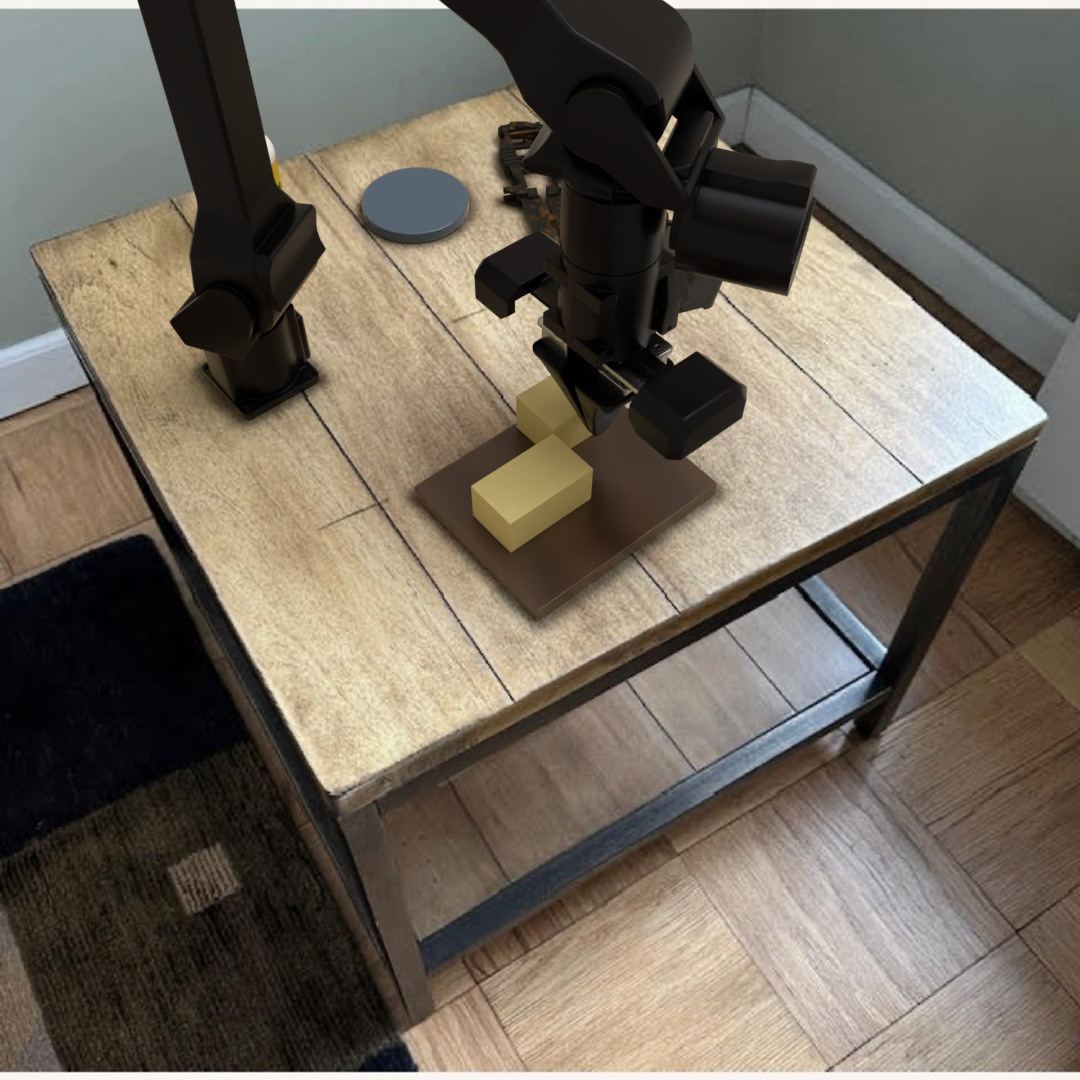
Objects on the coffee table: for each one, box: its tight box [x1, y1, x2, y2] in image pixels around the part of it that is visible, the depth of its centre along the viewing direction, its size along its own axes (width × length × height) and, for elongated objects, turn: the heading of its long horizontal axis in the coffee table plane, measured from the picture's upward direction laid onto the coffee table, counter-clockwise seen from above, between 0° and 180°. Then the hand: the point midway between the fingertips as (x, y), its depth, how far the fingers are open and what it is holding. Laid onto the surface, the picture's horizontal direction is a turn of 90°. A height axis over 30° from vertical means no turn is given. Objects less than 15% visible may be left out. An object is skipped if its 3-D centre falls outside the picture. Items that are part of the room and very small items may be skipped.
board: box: [413, 405, 718, 622], centre depth 75 cm, size 16×13×1 cm
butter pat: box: [515, 374, 593, 449], centre depth 76 cm, size 4×4×3 cm
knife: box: [497, 120, 562, 242], centre depth 92 cm, size 25×6×1 cm, turn 8°
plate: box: [361, 166, 470, 244], centre depth 93 cm, size 9×9×1 cm
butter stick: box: [471, 434, 593, 552], centre depth 72 cm, size 7×4×3 cm, turn 130°
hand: (597, 430), depth 73 cm, fingers closed
